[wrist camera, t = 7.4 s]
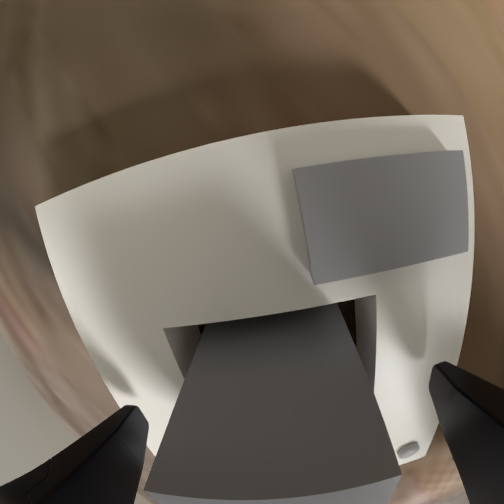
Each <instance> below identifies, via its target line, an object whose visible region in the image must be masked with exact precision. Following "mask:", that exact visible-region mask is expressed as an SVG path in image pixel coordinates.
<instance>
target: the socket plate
mask: <svg viewBox="0 0 504 504" xmlns="http://www.w3.org/2000/svg"><path fill="white" fill-rule="evenodd" d="M35 209H36V214H37V218H38V222H39V226H40V229H41V233H42V237H43V240H44V244H45V247H46V250H47V253H48V257H49V260H50V263H51V266H52V269H53V272H54V275H55V277H56V280H57V283H58V285H59V288H60V291H61V293H62V296H63V298H64V301H65V303H66V306H67V308H68V311H69V313H70V315H71V318H72V320H73V322H74V324H75V326H76V329H77V331H78V333H79V335H80V337H81V339H82V341H83V343H84V345H85V347H86V349H87V351H88V353H89V355H90V357H91V359H92V361H93V363H94V365H95V366H96V368H97V370H98V372H99V374H100V375H101V377H102V379H103V381H104V382H105V384H106V386H107V387H108V389H109V391H110V392H111V394H112V396H113V397H114V399H115V400H116V402H117V404H118V405H119V407H120V408H122V407H123V406H125V405H136V406H138V407H139V408H140V410H141V411H142V413H143V414H144V416H145V418H146V419H147V421H148V423H149V431H148V438H147V444H146V445H147V446H148V448H149V449H150V450H151V452H152V453H153V454H154V455H155V457H156V454H157V452H158V449H159V446H160V444H161V441H162V438H163V435H164V433H165V430H166V427H167V425H168V422H169V419H170V417H171V414H172V411H173V409H174V406H175V403H176V401H177V398H178V395H179V393H180V390H181V387H182V385H183V382H184V380H185V377H186V374H187V372H188V369H189V367H190V364H191V361H192V359H193V356H194V354H195V351H196V348H197V346H198V343H199V341H200V338H201V333H200V330H199V327H198V324H207V323H215V322H223V321H230V320H237V319H244V318H251V317H258V316H265V315H271V314H277V313H283V312H289V311H295V310H301V309H306V308H312V307H317V306H322V305H328V304H333V303H338V302H343V301H348V300H353V299H354V300H355V319H356V349H357V352H358V354H359V356H360V359H361V361H362V364H363V366H364V369H365V372H366V374H367V377H368V379H369V382H370V384H371V387H372V390H373V392H374V395H375V398H376V400H377V403H378V406H379V408H380V411H381V414H382V417H383V420H384V422H385V425H386V428H387V431H388V434H389V437H390V440H391V443H392V446H393V449H394V452H395V455H396V458H397V461H398V464H399V465H402V464H405V463H408V462H410V461H413V460H416V459H419V458H421V457H424V456H425V455H426V453H427V450H428V448H429V446H430V444H431V441H432V439H433V436H434V434H435V432H436V429H437V427H438V424H439V420H438V417H437V413H436V410H435V407H434V404H433V401H432V398H431V395H430V392H429V381H430V376H431V371H432V367H433V366H434V365H435V364H437V363H440V362H443V361H447V362H449V363H451V364H453V365H455V366H457V364H458V360H459V356H460V351H461V347H462V342H463V337H464V332H465V327H466V321H467V315H468V309H469V302H470V294H471V285H472V274H473V260H474V194H473V180H472V170H471V161H470V153H469V146H468V140H467V134H466V128H465V123H464V118H463V115H401V116H382V117H368V118H357V119H346V120H337V121H329V122H321V123H314V124H307V125H300V126H294V127H288V128H282V129H276V130H271V131H265V132H260V133H255V134H250V135H246V136H241V137H236V138H232V139H228V140H223V141H219V142H215V143H211V144H207V145H203V146H199V147H195V148H192V149H188V150H184V151H181V152H177V153H174V154H170V155H167V156H164V157H161V158H157V159H154V160H151V161H148V162H145V163H142V164H139V165H136V166H133V167H130V168H127V169H124V170H121V171H118V172H116V173H113V174H110V175H107V176H105V177H102V178H99V179H97V180H94V181H92V182H89V183H87V184H84V185H82V186H79V187H77V188H75V189H72V190H70V191H67V192H65V193H63V194H61V195H58V196H56V197H54V198H52V199H49V200H47V201H45V202H43V203H41V204H39V205H37V206H35Z"/></svg>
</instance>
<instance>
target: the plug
mask: <svg viewBox="0 0 504 504" xmlns="http://www.w3.org/2000/svg"><path fill="white" fill-rule="evenodd" d="M401 475H402V474H401V470H400V467H399V464H398V461H397V458H396V455H395V452H394V449H393V446H392V443H391V440H390V437H389V434H388V431H387V428H386V425H385V422H384V420H383V417H382V414H381V411H380V408H379V406H378V403H377V400H376V398H375V395H374V392H373V390H372V387H371V384H370V382H369V379H368V377H367V374H366V372H365V369H364V366H363V364H362V361H361V359H360V356H359V354H358V352H357V349H356V347H355V344H354V342H353V339H352V337H351V335H350V332H349V330H348V328H347V325H346V323H345V320H344V318H343V316H342V314H341V311H340V309H339V307H338V304H337V303H333V304H328V305H322V306H317V307H312V308H306V309H301V310H295V311H289V312H283V313H277V314H271V315H265V316H258V317H251V318H244V319H237V320H230V321H223V322H215V323H207V324H206V325H205V328H204V331H203V333H202V336H201V338H200V341H199V343H198V346H197V348H196V351H195V354H194V356H193V359H192V361H191V364H190V367H189V369H188V372H187V374H186V377H185V380H184V382H183V385H182V387H181V390H180V393H179V395H178V398H177V401H176V403H175V406H174V409H173V411H172V414H171V417H170V419H169V422H168V425H167V427H166V430H165V433H164V435H163V438H162V441H161V444H160V446H159V449H158V452H157V454H156V457H155V460H154V463H153V465H152V468H151V471H150V474H149V476H148V479H147V482H146V485H145V488H144V490H143V491H144V492H146V493H147V494H148V495H149V496H150V497H151V498H152V499H153V500H155V501H156V502H157V503H158V504H388V503H389V501H390V499H391V497H392V495H393V493H394V491H395V489H396V487H397V484H398V482H399V480H400V478H401Z"/></svg>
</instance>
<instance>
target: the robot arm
mask: <svg viewBox="0 0 504 504" xmlns="http://www.w3.org/2000/svg"><path fill="white" fill-rule="evenodd" d="M429 392H430V395H431V398H432V401H433V404H434V407H435V410H436V413H437V417H438V420H439V423H440V426H441V429H442V432H443V434H444V437H445V439H446V442H447V444H448V446H449V449H450V451H451V454H452V456H453V459H454V461H455V464H456V466H457V469H458V471H459V474H460V477H461V480H462V482H463V485H464V488H465V491H466V494H467V497H468V500H469V503H470V504H504V389H502V388H500V387H498V386H496V385H494V384H492V383H490V382H488V381H486V380H483V379H481V378H479V377H477V376H475V375H473V374H471V373H469V372H467V371H465V370H463V369H461V368H459V367H457V366H455V365H453V364H451V363H449V362H447V361H443V362H440V363H437V364H435V365H434V366H433V367H432V371H431V376H430V381H429ZM148 431H149V423H148V421H147V419H146V418H145V416H144V414H143V413H142V411H141V410H140V408H139V407H138V406H136V405H125V406H123V407H122V408H121V409H119V410H118V411H117V412H115V413H114V414H113V415H111V416H110V417H108V418H107V419H106V420H104V421H103V422H102V423H100V424H99V425H98V426H96V427H95V428H93V429H92V430H91V431H89V432H88V433H86V434H85V435H84V436H82V437H81V438H79V439H78V440H77V441H75V442H74V443H72V444H71V445H69V446H68V447H67V448H65V449H64V450H62V451H61V452H60V453H58V454H56V455H55V456H53V457H52V458H51V459H49V460H48V461H46V462H45V463H43V464H42V465H40V466H38V467H37V468H35V469H34V470H32V471H30V472H28V473H26V474H24V475H23V476H21V477H19V478H17V479H15V480H13V481H11V482H9V483H6V484H4V485H2V486H0V504H134V501H135V497H136V493H137V489H138V485H139V481H140V477H141V473H142V469H143V464H144V458H145V451H146V444H147V438H148Z"/></svg>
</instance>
